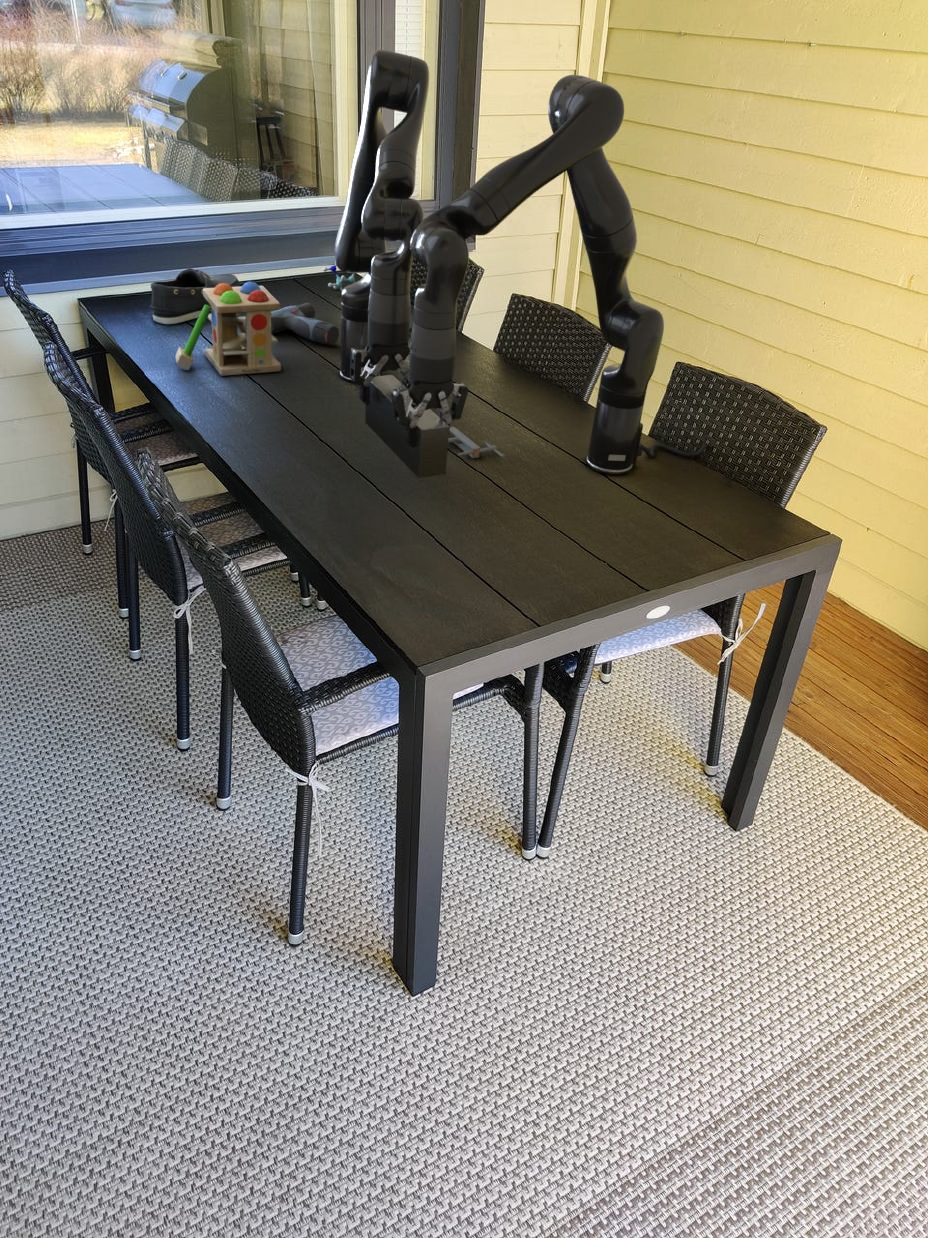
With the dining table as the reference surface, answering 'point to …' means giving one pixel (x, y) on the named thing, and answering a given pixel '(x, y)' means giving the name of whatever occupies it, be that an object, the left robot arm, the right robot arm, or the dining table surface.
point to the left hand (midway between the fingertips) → (385, 401)
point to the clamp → (469, 444)
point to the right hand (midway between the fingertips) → (426, 443)
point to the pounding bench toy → (229, 347)
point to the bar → (429, 433)
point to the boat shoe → (184, 295)
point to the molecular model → (339, 278)
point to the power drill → (304, 324)
